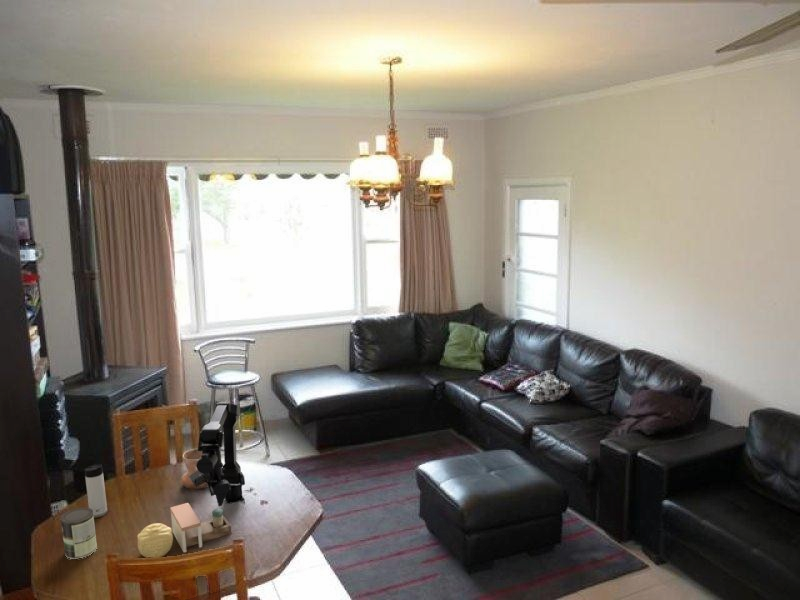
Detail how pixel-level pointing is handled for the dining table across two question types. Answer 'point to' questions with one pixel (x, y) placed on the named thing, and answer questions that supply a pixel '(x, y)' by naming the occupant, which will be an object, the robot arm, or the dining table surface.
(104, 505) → the travel mug
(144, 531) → the sculpture
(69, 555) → the coffee can
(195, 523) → the footed pink board
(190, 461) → the ceramic jug
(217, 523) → the peg
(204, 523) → the socket block
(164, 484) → the dining table surface
